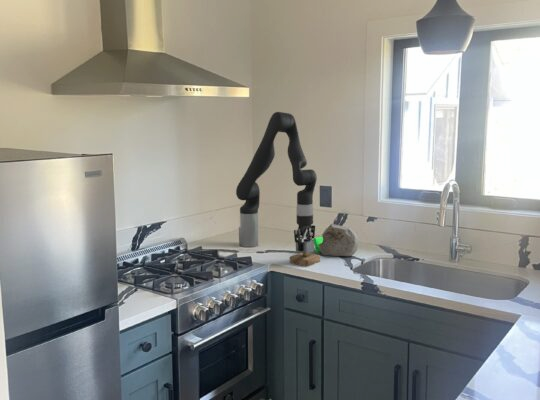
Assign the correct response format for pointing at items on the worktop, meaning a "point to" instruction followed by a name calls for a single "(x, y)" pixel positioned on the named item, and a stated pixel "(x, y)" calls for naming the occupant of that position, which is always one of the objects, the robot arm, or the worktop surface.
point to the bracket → (318, 242)
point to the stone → (339, 241)
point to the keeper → (304, 259)
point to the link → (306, 246)
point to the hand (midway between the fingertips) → (304, 249)
